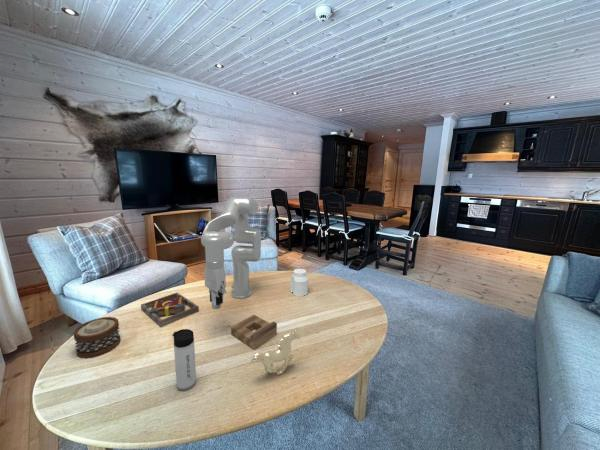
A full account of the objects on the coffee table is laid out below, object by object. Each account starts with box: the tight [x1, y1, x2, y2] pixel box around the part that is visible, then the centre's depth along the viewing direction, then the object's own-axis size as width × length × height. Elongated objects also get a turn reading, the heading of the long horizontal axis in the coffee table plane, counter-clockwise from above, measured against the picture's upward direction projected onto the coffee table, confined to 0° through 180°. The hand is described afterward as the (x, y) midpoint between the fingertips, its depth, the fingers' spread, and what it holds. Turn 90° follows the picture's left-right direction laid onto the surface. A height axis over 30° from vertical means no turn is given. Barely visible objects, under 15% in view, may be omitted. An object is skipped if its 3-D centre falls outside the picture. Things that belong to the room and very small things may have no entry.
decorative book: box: [150, 296, 187, 318], centre depth 131 cm, size 11×16×5 cm
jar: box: [290, 268, 309, 297], centre depth 157 cm, size 12×10×15 cm
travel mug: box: [171, 328, 197, 392], centre depth 84 cm, size 6×7×20 cm
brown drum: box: [73, 316, 122, 359], centre depth 102 cm, size 15×11×15 cm
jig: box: [230, 314, 278, 350], centre depth 113 cm, size 16×14×6 cm
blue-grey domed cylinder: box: [211, 290, 222, 310], centre depth 109 cm, size 4×4×8 cm
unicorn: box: [249, 326, 301, 376], centre depth 90 cm, size 20×4×17 cm, turn 119°
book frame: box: [140, 292, 200, 328], centre depth 132 cm, size 24×19×3 cm
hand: (216, 302), depth 109 cm, fingers closed on blue-grey domed cylinder, 4 cm apart
